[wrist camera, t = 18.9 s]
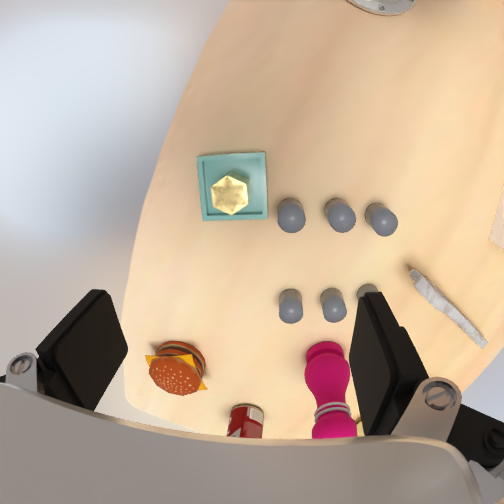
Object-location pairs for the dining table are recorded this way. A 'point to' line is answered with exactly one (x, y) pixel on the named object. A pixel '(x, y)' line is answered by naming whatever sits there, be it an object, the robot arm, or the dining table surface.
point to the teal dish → (244, 164)
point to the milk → (498, 224)
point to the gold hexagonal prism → (231, 193)
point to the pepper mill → (329, 391)
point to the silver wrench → (445, 306)
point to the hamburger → (177, 368)
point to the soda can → (246, 422)
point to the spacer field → (340, 221)
